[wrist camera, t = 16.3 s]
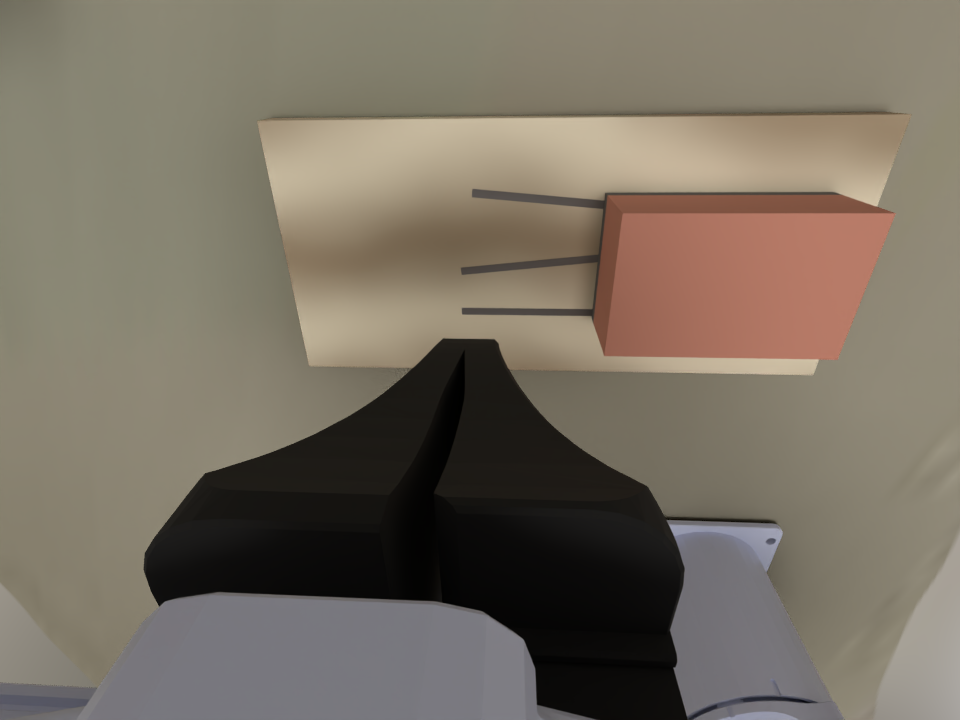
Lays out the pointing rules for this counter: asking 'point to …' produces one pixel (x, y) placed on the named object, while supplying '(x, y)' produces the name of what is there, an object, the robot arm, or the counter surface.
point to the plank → (519, 220)
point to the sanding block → (733, 273)
